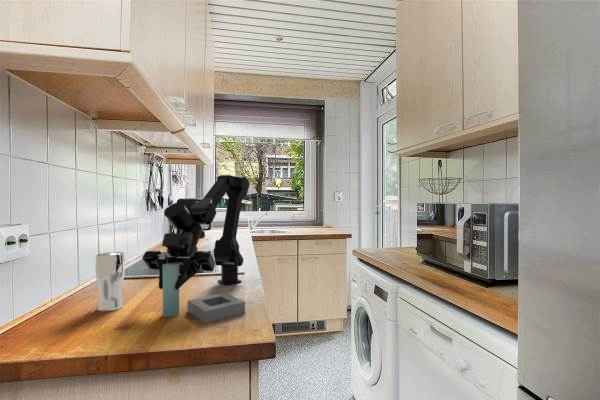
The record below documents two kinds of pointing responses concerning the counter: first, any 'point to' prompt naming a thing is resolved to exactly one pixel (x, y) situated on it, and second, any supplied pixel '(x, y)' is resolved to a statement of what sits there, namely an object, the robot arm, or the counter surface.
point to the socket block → (216, 307)
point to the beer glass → (110, 280)
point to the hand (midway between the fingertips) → (168, 288)
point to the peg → (170, 290)
